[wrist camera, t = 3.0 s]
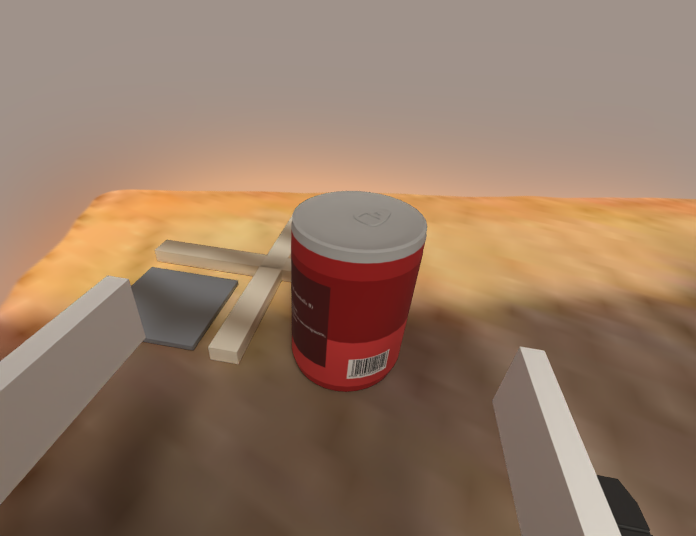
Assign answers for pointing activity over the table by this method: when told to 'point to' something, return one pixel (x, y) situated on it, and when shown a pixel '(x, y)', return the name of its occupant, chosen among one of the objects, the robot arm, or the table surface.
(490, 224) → the table surface
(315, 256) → the canned food
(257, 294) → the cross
